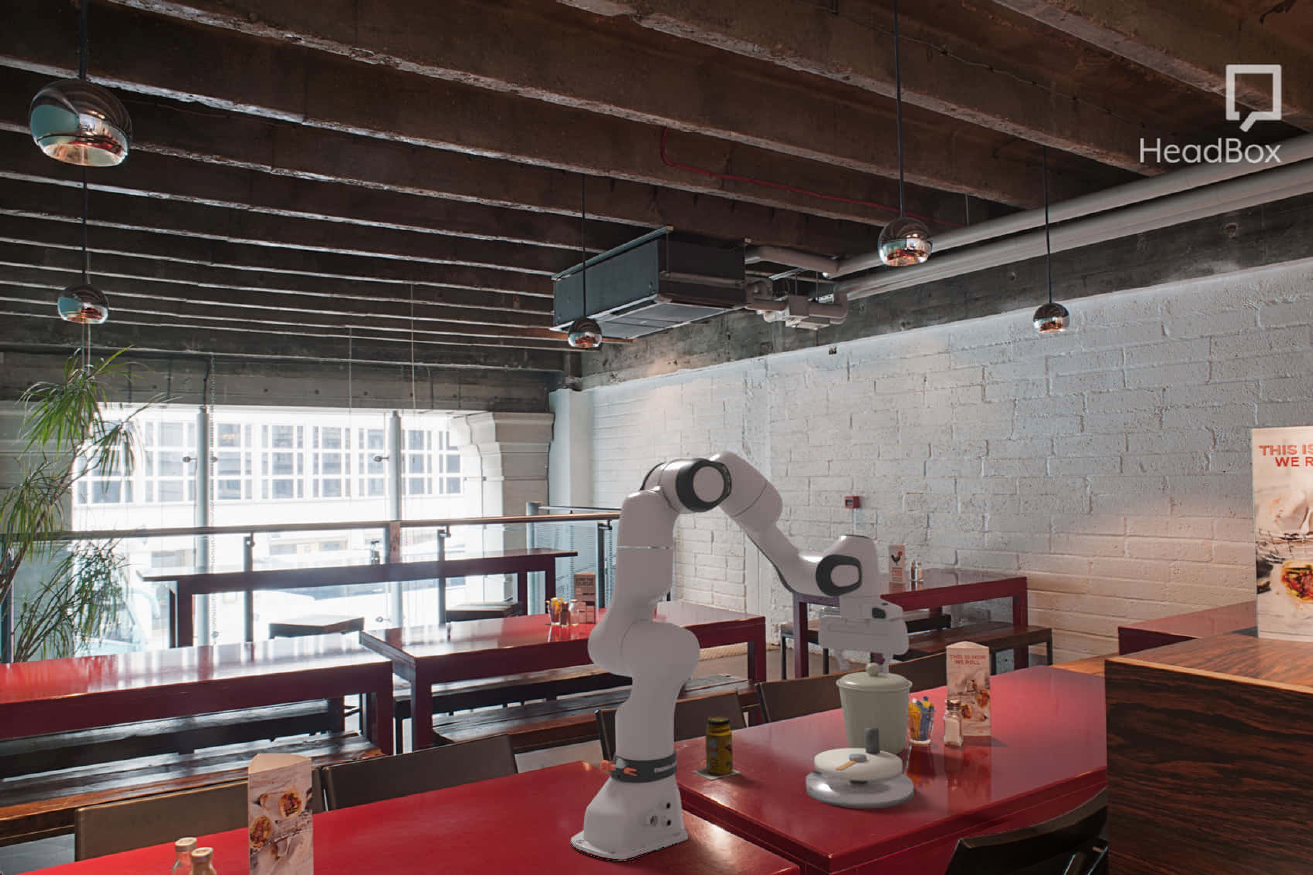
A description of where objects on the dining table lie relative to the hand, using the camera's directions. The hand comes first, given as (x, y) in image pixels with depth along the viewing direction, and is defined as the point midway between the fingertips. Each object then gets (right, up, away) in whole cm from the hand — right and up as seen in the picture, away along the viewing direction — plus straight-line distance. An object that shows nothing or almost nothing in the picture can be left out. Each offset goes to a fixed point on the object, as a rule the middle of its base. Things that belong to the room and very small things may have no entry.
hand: (863, 671), depth 192 cm
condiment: (-32, -25, +8) cm, 41 cm away
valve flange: (-3, -23, -8) cm, 24 cm away
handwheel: (-3, -18, -7) cm, 20 cm away
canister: (+8, -25, +21) cm, 34 cm away
